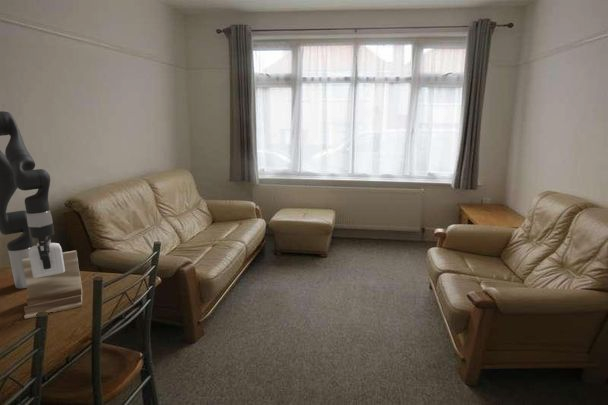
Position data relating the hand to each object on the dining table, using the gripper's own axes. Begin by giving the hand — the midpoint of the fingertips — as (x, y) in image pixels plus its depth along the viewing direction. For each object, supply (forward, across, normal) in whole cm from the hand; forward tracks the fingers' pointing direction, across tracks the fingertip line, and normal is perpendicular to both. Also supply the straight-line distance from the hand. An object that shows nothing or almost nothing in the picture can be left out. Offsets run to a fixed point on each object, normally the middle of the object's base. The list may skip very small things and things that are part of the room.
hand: (48, 266), depth 140 cm
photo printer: (+3, 0, 0) cm, 3 cm away
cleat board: (+16, -2, 0) cm, 17 cm away
